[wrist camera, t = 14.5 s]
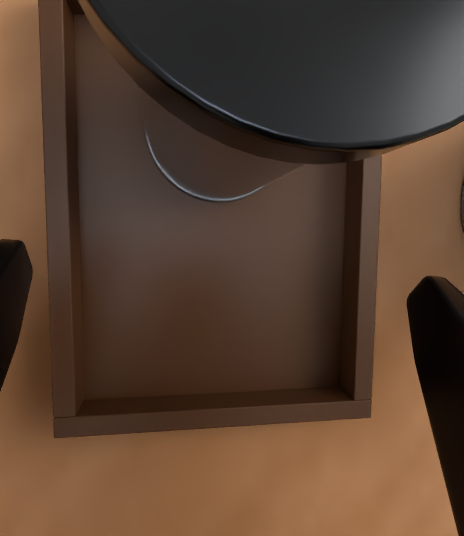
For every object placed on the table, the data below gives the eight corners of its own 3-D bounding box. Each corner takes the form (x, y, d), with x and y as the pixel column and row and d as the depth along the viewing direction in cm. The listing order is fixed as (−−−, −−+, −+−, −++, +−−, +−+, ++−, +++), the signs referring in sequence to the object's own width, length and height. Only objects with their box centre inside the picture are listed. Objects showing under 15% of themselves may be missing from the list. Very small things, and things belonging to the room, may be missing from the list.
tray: (350, 398, 18) (371, 418, 16) (67, 414, 16) (53, 438, 14) (364, 25, 17) (389, -3, 15) (54, -3, 15) (36, -38, 13)
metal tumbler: (317, 172, 16) (679, 23, 5) (180, 235, 16) (195, 247, 4) (257, 22, 16) (516, -633, 4) (109, 84, 15) (-139, -466, 3)
